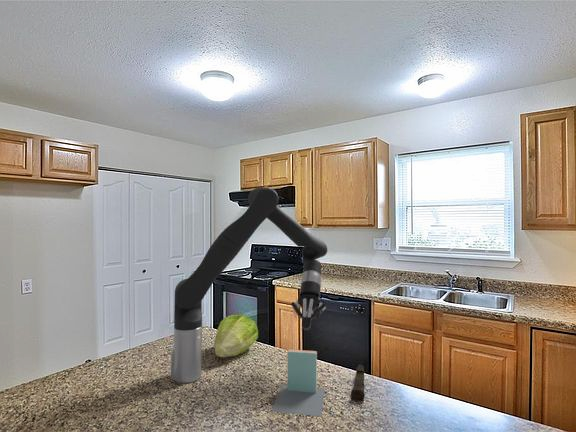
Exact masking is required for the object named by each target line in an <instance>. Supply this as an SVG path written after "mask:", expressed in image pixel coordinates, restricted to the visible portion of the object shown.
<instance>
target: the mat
mask: <svg viewBox="0 0 576 432" xmlns="http://www.w3.org/2000/svg"><path fill="white" fill-rule="evenodd" d="M325 390H326V388H325V387H317V391H316V393H312V392H301V391H290V390H287V384H283V383H282V384H281V385H280V388H279V390H278V392H277V395H276V398H275V400H274V403H273V406H272V408H271V411H270V412H272V413H274V412H275V413H285V414H294V415H303V416H304V415H305V416H313V417H322V414H323V406H324V398H325Z"/></svg>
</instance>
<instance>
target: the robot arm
mask: <svg viewBox="0 0 576 432" xmlns="http://www.w3.org/2000/svg"><path fill="white" fill-rule="evenodd" d="M247 200H248V204H249V207H248V208H247V209H246V211H245V212H244V213H243V214H242V215H241V216H240V217H238V218H237V219H236V220H235V221H233V222H232V223H230V224H229V225H227V226H226V228H224V229H223V231H222V232H220V234H219V235H218V236H217V237H216V238H215V240H214V241H213V243H212V244H211V246H210V247H209V248H208V250H207V252H206V254H205V255H204V257H203V259H202V260H201V262H200V264H199V266H198V267H197V268H196V269H195V270H194V272H192V274H190V276H189V277H188V278H184V279H182V280H181V281H178V283H177V284H176V286H175V289H174V306H173V307H174V311H173V312H174V313H173V328H174V330H173V349H172V350H171V353H170V355H171V356H170V380H171V381H174V382H176V383H180V384H185V383H194V382H195V381H197V380H200V378H201V377H202V364H203V363H202V361H203V359H202V358H203V357H202V356H203V355H202V351H203V350H202V349H203V335H202V334H203V314H202V313H203V312H202V311H203V310H202V308H203V307H202V305H203V304H202V302H203V299H204V298H205V296H206V295H207V293H208V291H209V290H210V288H211V287H212V285H213V284H214V283H215V281H216V279H217V278H218V277H219V276H220V275H221V274H222V272H223V271H225V270H226V268H227V267H228V266H229V265H230V264H231V262H233V260H234V259H235V258H236V256H237V255H238V254H239V253H240V251H241V250H243V247H244V246H245V245H246V244H247V242H248V241H249V240H250V238H251V237H252V236H253V234H254V233H255V232H256V230H257V229H258V228H259V227H260V225H261V224H262V223H263V222H264V221H265V220H266V219H268V220H269V221H270V222H271V223H273V225H275V226H276V227H277V229H279V230H280V231H281V232H282V233H283V234H284V235H286V237H287V238H288V239H290V240H291V242H293V243H294V244H295V246H297V247H300V248H302V249H301V255H302V256H301V257H302V262H303V272H302V277H301V280H300V289H299V296H298V298H297V300H296V301H293V302H291V308H292V309H293V310H294V312H295V314H296V315H297V316H298V319H302V322H301V323H302V324H301V327H302V329H303V330H304V331H309V330H310V329H311V326H312V320H317V319H318V318H319V317H320V315H322V314H323V313H324V311H325V310H327V309H326V304H325V303H323V302H321V301H322V300H321V288H322V268H323V267H322V263H321V262H320V261H319V260H317V259H320V258H322V257H323V258H324V257H325V256H326V255H327V254H328V247H327V244H326V243H325V242H324V240H322V239H321V238H319V237H317V236H316V235H313V234H312V233H311V232H309V231H308V230H307V229H305V227H304V226H303V225H302V224H300V223H299V222H298V221H297V220H296V219H294V218H293V217H292V216H290V215H289V214H287V213H286V212H285V211H284V210H282V209H281V208H280V207H279V206H278V205H279V200H280V199H279V195H278V193H277V192H276V190H275V189H274V188H273V189H272V188H269V187H255V188H254V189H252V190H251V191H250V192H249V194H248V199H247ZM299 306H300V308H301V310H302V312H301V310H300V309H299Z"/></svg>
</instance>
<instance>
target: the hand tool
mask: <svg viewBox="0 0 576 432" xmlns="http://www.w3.org/2000/svg"><path fill="white" fill-rule="evenodd" d="M365 386H366V385H365V367H364V365H363V364H358V365H357V367H356V370H355V377H354V383H353V388H352V390H351V392H350V399H351V401H352V400H353V401H357V402H364V400H365V397H366V396H365V395H366V393H365Z"/></svg>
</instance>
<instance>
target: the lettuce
mask: <svg viewBox="0 0 576 432" xmlns="http://www.w3.org/2000/svg"><path fill="white" fill-rule="evenodd" d="M258 339H259V329H258V326H257V323H256V321H255V320H253V319H252V318H251V317H249V316H247V315H245V314H242V313H240V314H232V315H228V316H226V317H224V318H223V319H222V320H221V321H220V322H219V325H218V327H217V331H216V334H215V337H214V342H213V346H214V350H215V351H214V352H215V355H216V356H217V357H220V358H230V357H235V356H237V355H240V354H243V353H245V352H246V351H247V350H248V349H249V348H251V347H252V345H254V344H255V342H256V341H257V340H258Z"/></svg>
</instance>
